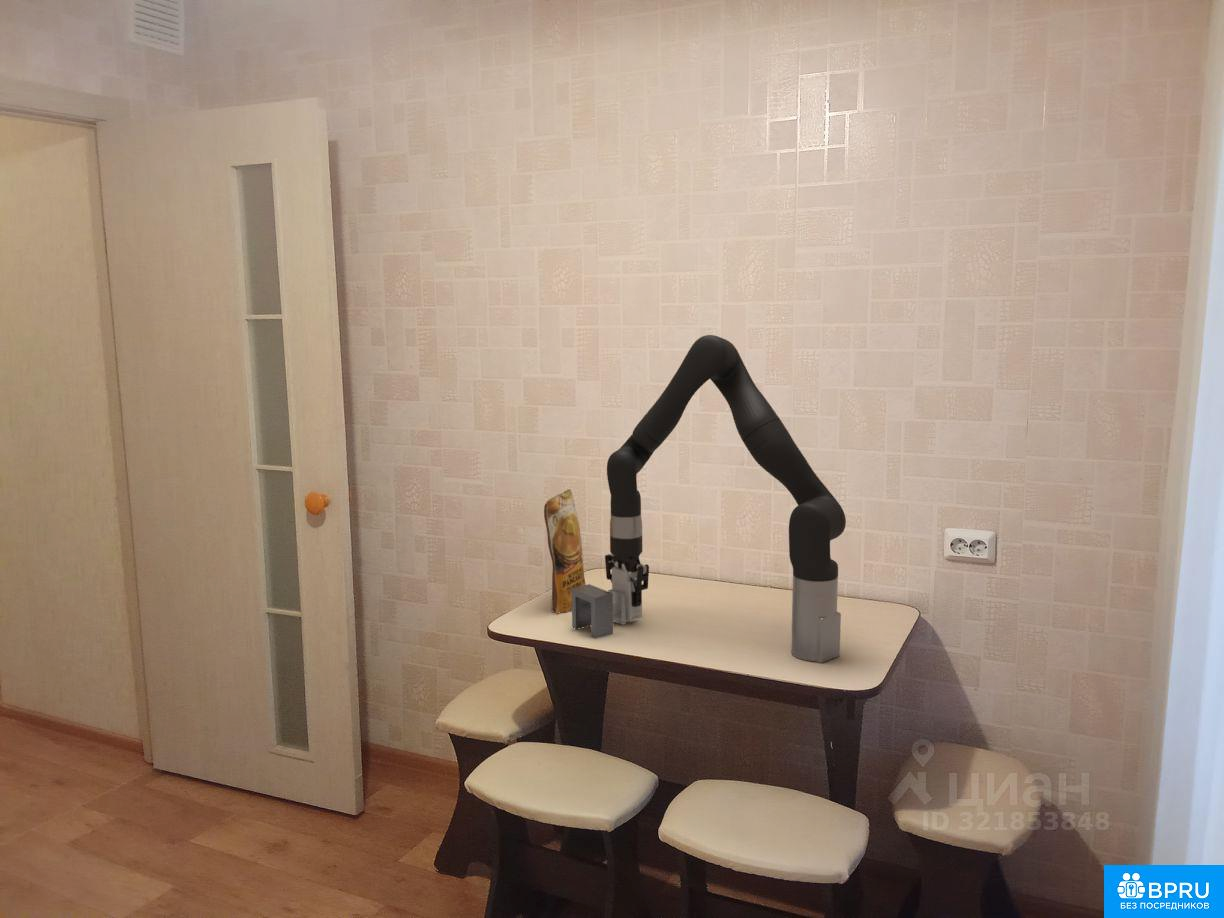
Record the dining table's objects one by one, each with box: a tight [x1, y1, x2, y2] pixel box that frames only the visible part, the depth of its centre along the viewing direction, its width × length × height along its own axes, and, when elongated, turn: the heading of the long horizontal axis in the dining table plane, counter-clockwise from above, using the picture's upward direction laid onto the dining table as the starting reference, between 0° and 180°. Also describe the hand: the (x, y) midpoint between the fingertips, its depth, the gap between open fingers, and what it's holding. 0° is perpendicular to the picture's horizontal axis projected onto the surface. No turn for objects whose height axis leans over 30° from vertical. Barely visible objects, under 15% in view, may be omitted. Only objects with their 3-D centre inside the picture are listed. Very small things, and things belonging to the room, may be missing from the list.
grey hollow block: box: [571, 583, 614, 640], centre depth 213 cm, size 12×11×10 cm
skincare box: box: [611, 567, 643, 623], centre depth 215 cm, size 6×4×12 cm
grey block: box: [607, 588, 627, 625], centre depth 215 cm, size 10×6×7 cm, turn 37°
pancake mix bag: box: [543, 489, 587, 615], centre depth 227 cm, size 7×19×28 cm, turn 156°
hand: (627, 602), depth 216 cm, fingers closed on skincare box, 6 cm apart
